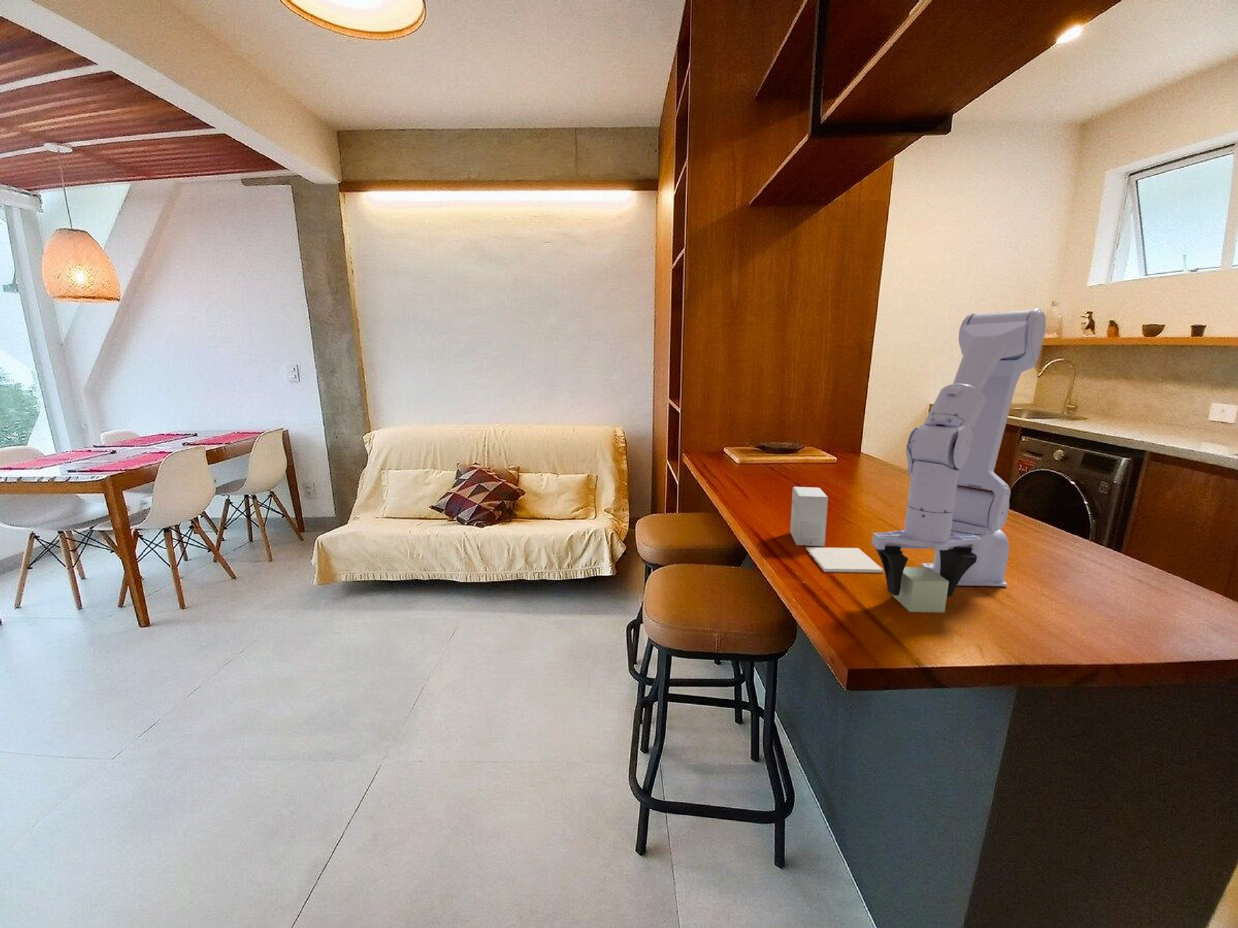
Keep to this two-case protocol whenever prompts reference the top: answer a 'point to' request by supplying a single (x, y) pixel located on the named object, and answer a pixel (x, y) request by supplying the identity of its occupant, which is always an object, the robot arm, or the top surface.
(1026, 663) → the top surface
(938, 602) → the cube
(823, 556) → the tile
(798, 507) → the small box
